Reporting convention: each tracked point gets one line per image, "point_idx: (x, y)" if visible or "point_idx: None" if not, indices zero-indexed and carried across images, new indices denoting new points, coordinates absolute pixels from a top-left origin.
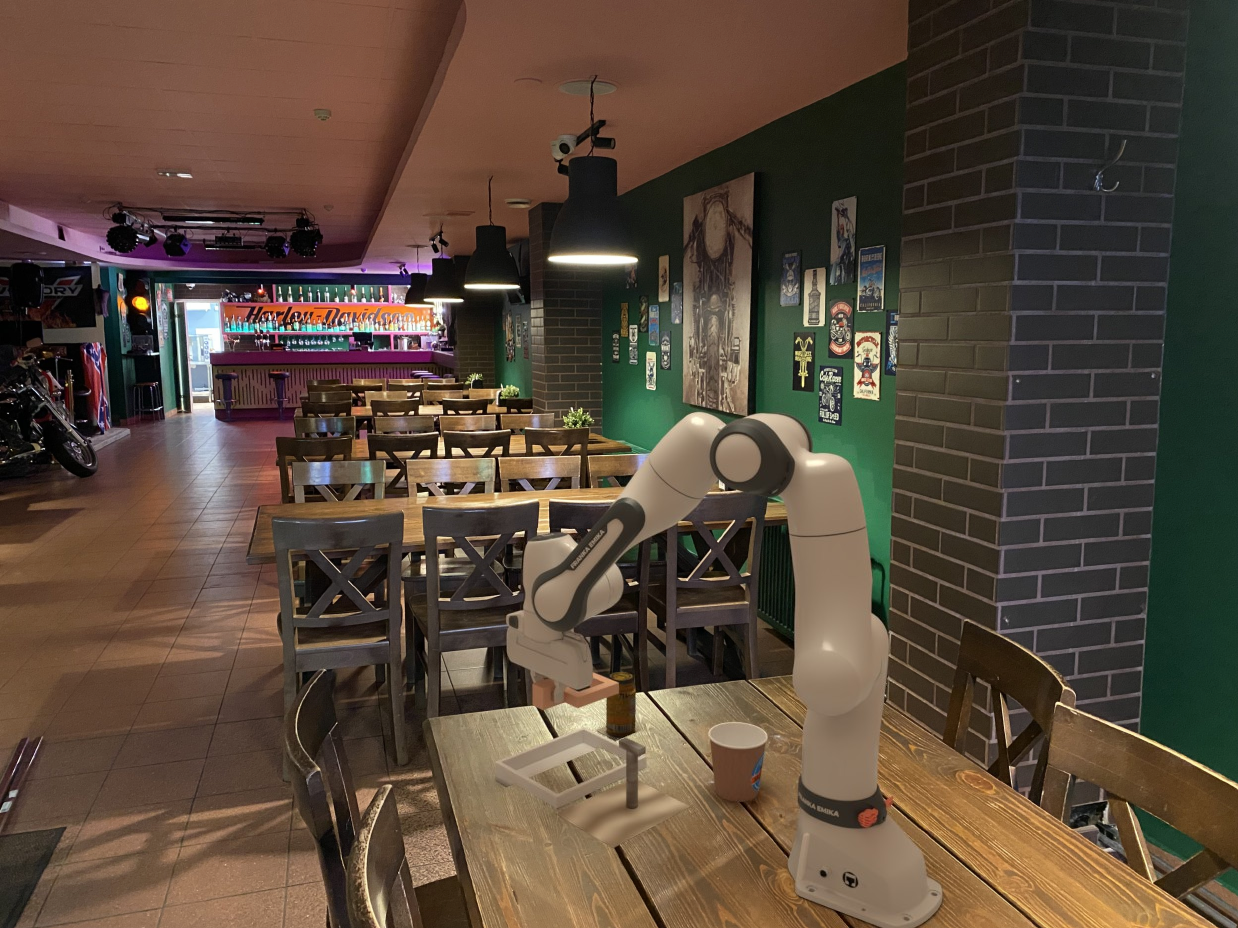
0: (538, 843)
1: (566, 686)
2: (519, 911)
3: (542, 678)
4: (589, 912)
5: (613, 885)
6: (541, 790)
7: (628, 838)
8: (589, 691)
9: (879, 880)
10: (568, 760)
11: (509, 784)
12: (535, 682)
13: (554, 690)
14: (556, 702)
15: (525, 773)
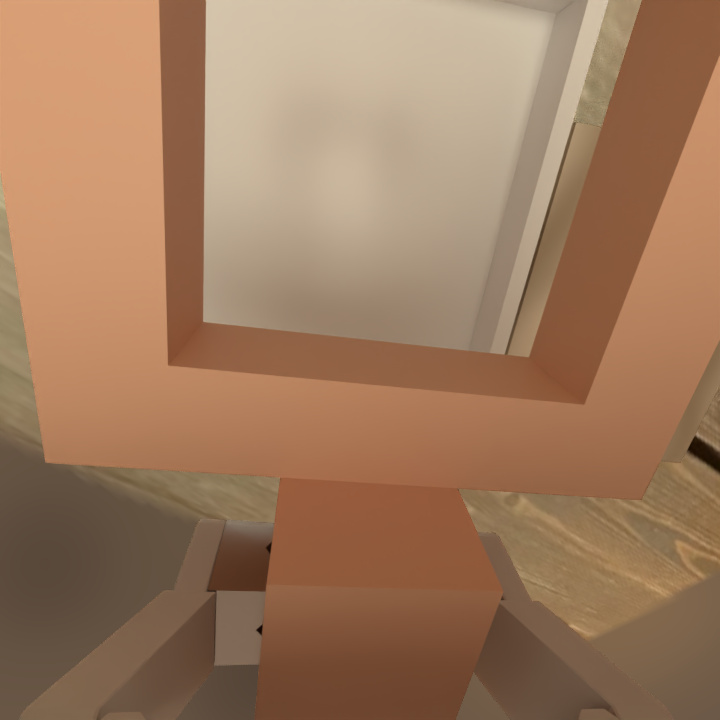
0: (491, 509)
1: (617, 671)
2: (581, 632)
3: (164, 649)
4: (688, 576)
5: (700, 510)
6: None
7: (700, 415)
8: (688, 324)
9: None
10: (265, 147)
11: None
12: (180, 703)
13: (504, 710)
14: None
15: None
